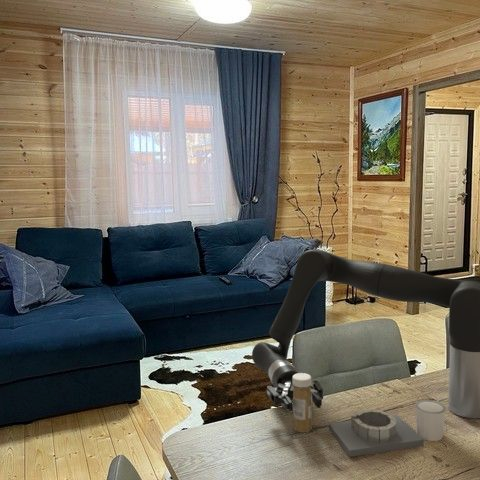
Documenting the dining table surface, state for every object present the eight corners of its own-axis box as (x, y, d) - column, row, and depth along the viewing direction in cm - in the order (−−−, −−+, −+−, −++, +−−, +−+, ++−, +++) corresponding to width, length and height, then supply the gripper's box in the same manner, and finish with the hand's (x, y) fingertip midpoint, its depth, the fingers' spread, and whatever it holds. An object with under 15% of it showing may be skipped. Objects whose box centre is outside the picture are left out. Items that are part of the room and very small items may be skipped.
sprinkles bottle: (315, 429, 117) (315, 376, 116) (301, 435, 115) (300, 381, 113) (303, 421, 121) (302, 370, 119) (289, 427, 119) (288, 375, 117)
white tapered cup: (445, 430, 115) (446, 402, 114) (444, 444, 109) (445, 415, 108) (415, 424, 118) (416, 397, 117) (412, 438, 112) (413, 410, 111)
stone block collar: (383, 418, 118) (383, 407, 118) (403, 439, 109) (403, 426, 109) (347, 423, 117) (347, 411, 116) (365, 444, 107) (365, 432, 107)
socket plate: (396, 420, 121) (396, 414, 120) (424, 445, 109) (424, 439, 109) (328, 429, 117) (328, 423, 117) (349, 456, 105) (349, 450, 105)
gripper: (259, 367, 129) (276, 394, 113) (310, 361, 132) (333, 387, 116) (259, 394, 130) (276, 424, 114) (310, 387, 133) (333, 416, 117)
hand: (305, 405), depth 115 cm, fingers open, 6 cm apart
